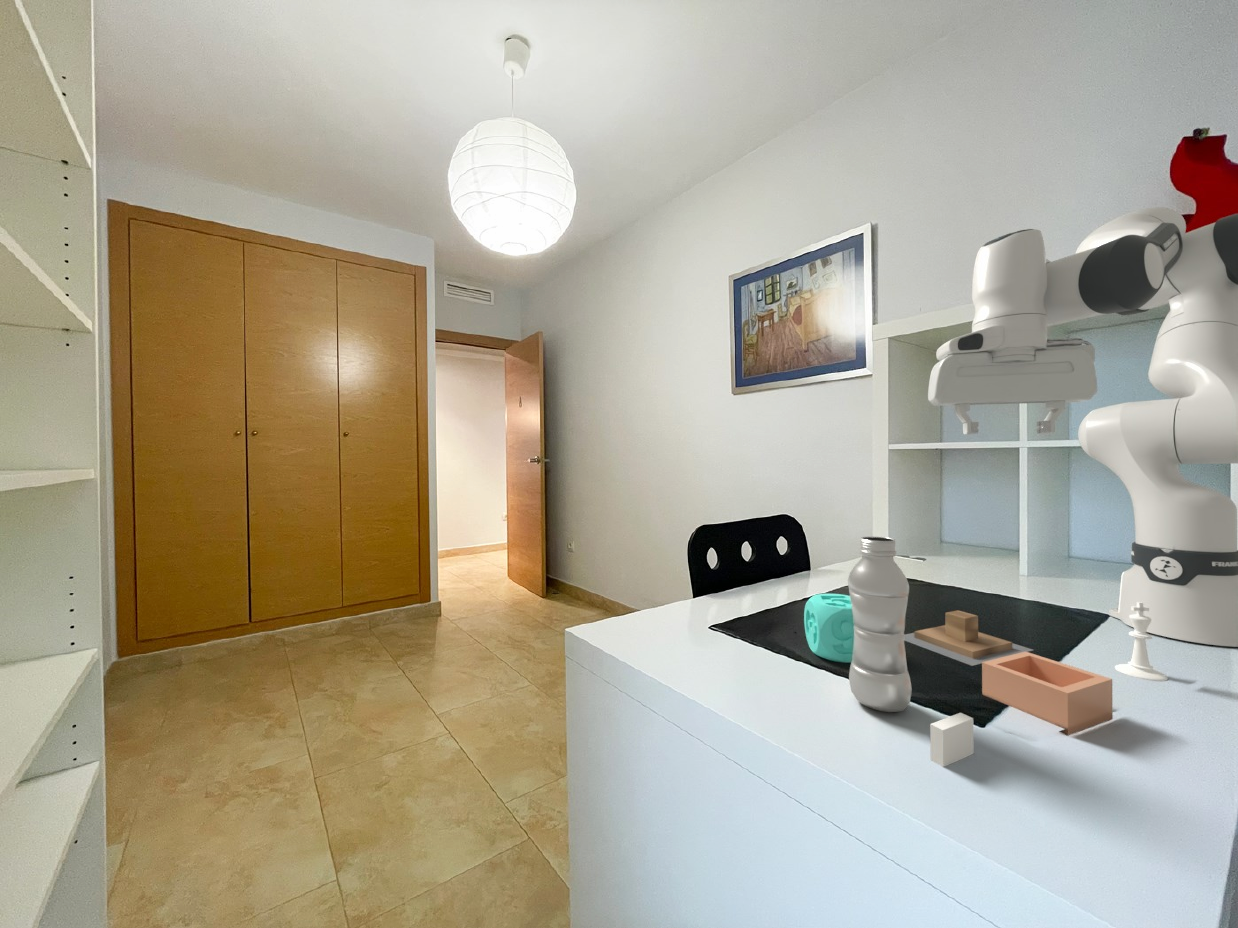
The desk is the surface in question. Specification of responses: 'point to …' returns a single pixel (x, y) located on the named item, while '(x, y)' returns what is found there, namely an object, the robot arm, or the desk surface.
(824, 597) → the decorative dice
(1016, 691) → the dish
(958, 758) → the eraser
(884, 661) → the plastic bottle
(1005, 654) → the mat
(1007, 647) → the lid
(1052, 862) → the desk surface
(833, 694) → the desk surface
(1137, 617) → the chess piece
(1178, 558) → the robot arm
